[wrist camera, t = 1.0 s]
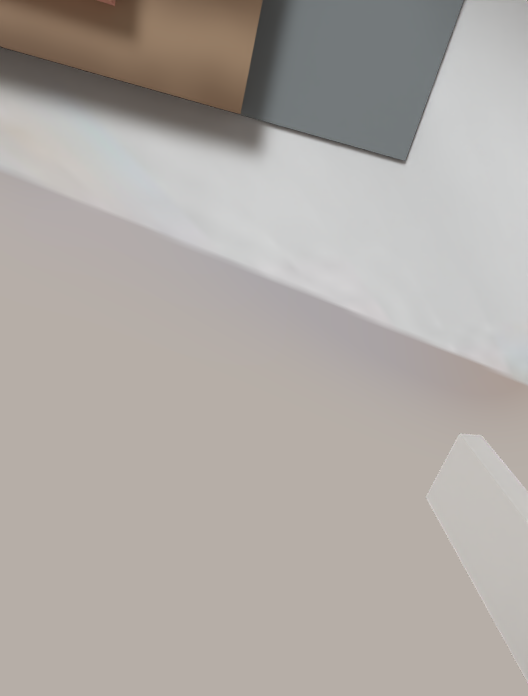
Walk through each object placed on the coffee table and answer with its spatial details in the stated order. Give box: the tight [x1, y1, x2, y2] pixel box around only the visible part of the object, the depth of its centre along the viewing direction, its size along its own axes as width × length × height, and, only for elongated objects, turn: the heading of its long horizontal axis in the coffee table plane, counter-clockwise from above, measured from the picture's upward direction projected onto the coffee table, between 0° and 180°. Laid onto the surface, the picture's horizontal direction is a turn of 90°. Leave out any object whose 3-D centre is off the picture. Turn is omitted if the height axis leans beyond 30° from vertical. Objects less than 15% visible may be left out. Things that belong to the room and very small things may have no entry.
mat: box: [240, 0, 464, 161], centre depth 29 cm, size 13×13×1 cm
